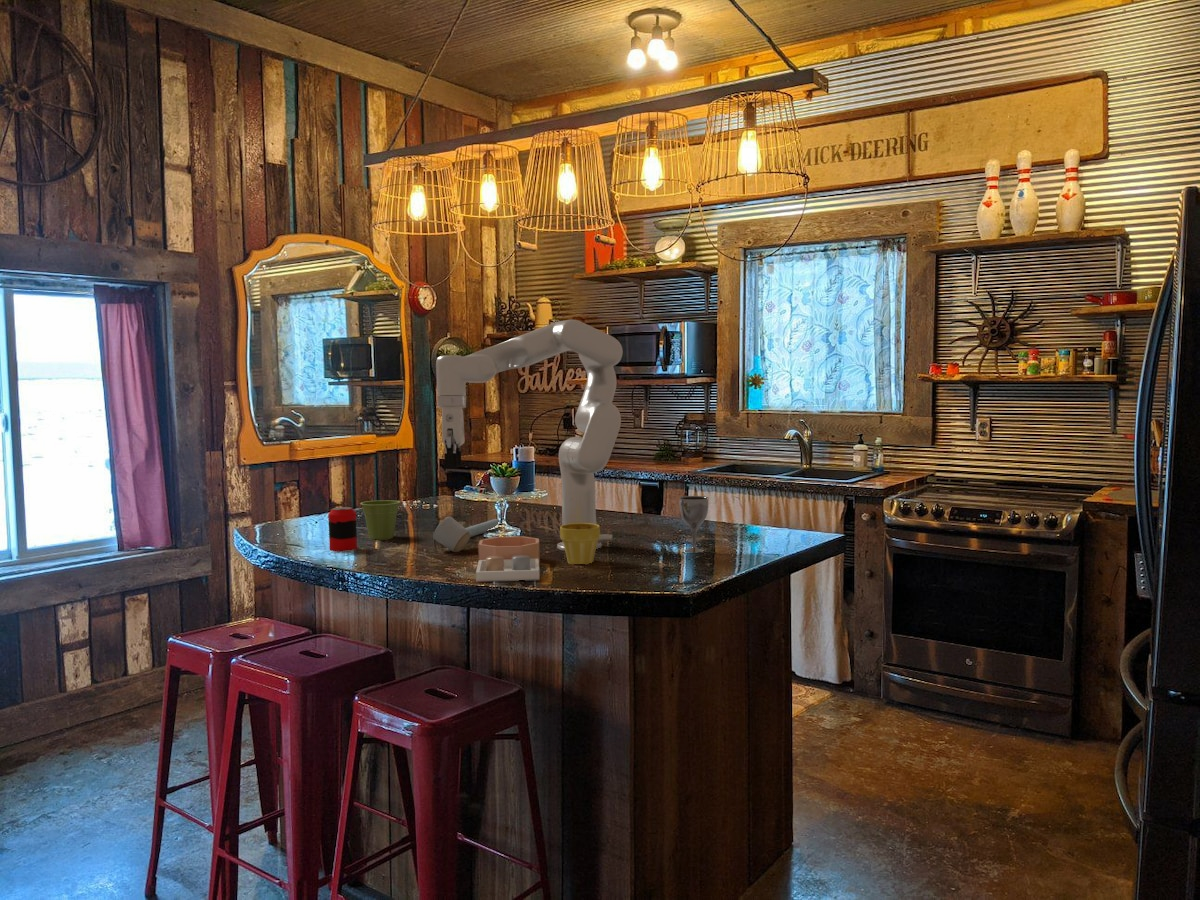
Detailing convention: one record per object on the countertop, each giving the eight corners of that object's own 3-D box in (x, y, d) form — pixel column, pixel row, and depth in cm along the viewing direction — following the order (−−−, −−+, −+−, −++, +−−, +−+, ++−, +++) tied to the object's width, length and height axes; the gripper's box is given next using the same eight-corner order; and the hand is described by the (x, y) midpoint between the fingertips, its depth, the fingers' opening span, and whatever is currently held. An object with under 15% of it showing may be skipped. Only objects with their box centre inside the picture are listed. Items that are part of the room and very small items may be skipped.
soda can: (331, 553, 263) (329, 511, 262) (328, 549, 270) (326, 507, 269) (358, 551, 266) (357, 509, 265) (355, 547, 273) (353, 506, 272)
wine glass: (712, 550, 261) (712, 496, 260) (703, 555, 254) (703, 500, 252) (685, 548, 264) (685, 495, 263) (675, 553, 257) (675, 498, 256)
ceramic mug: (453, 559, 261) (459, 540, 257) (429, 542, 263) (436, 523, 258) (474, 540, 269) (481, 521, 265) (452, 524, 271) (458, 505, 267)
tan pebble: (504, 571, 233) (504, 555, 233) (504, 575, 229) (503, 558, 228) (486, 571, 233) (486, 556, 233) (485, 575, 228) (485, 559, 228)
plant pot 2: (586, 568, 238) (585, 530, 238) (552, 564, 244) (552, 527, 243) (607, 561, 247) (607, 524, 246) (574, 557, 253) (574, 521, 252)
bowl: (538, 555, 256) (538, 535, 255) (539, 567, 240) (539, 545, 240) (480, 557, 255) (480, 537, 254) (478, 569, 239) (477, 547, 239)
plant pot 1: (409, 537, 288) (408, 501, 288) (381, 543, 278) (380, 505, 278) (381, 534, 295) (380, 498, 294) (353, 540, 285) (351, 503, 284)
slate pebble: (530, 570, 234) (530, 554, 233) (530, 574, 229) (530, 558, 229) (512, 571, 233) (512, 555, 233) (512, 574, 229) (512, 558, 229)
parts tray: (538, 568, 239) (538, 558, 239) (539, 580, 224) (539, 570, 224) (479, 569, 238) (478, 560, 238) (476, 582, 223) (475, 572, 223)
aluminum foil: (466, 540, 284) (466, 529, 283) (447, 539, 286) (447, 528, 286) (501, 529, 305) (501, 518, 304) (483, 528, 307) (483, 518, 307)
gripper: (462, 403, 239) (464, 470, 241) (469, 401, 257) (470, 463, 258) (432, 403, 239) (434, 470, 240) (441, 401, 256) (443, 464, 258)
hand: (453, 467), depth 249 cm, fingers open, 9 cm apart
